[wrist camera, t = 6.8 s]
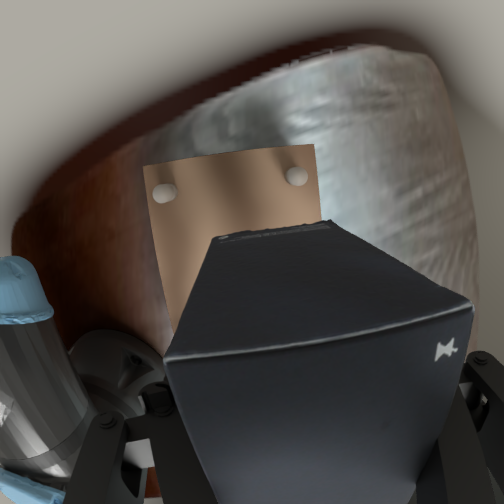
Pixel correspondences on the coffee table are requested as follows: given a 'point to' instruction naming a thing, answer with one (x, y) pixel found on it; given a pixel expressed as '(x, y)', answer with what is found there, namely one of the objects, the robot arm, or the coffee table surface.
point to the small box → (314, 367)
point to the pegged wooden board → (224, 206)
